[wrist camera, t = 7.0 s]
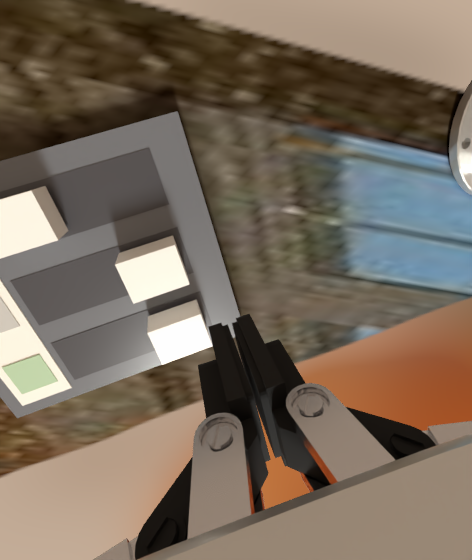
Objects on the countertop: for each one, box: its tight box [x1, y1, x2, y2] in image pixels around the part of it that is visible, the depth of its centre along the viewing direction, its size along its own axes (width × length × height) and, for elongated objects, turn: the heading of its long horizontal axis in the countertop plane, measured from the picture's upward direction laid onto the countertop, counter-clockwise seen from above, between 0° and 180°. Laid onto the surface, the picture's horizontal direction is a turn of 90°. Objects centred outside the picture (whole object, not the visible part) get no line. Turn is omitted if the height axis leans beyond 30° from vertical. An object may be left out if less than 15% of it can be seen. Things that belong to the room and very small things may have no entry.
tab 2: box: [115, 236, 189, 304], centre depth 22 cm, size 4×3×2 cm
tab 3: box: [147, 299, 212, 365], centre depth 24 cm, size 4×3×2 cm
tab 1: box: [0, 186, 68, 259], centre depth 19 cm, size 4×3×2 cm
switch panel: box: [0, 111, 240, 418], centre depth 23 cm, size 20×18×2 cm
